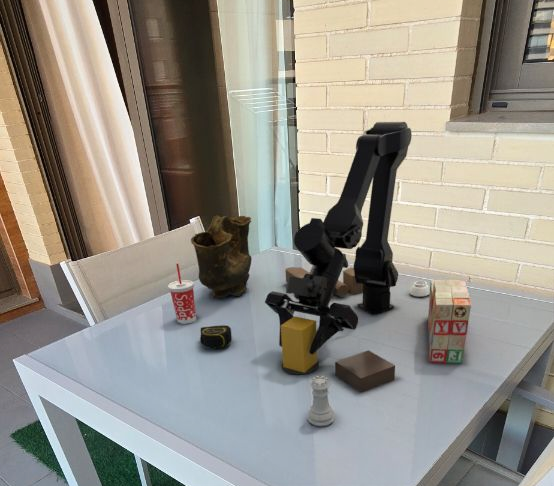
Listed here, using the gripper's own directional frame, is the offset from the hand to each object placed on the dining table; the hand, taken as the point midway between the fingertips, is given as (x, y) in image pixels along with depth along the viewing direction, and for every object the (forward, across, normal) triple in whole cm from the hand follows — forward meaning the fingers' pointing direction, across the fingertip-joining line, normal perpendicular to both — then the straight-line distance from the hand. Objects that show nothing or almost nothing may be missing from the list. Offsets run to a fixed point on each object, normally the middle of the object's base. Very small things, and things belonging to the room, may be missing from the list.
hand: (295, 350), depth 105 cm
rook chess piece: (+13, +14, -6) cm, 20 cm away
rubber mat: (+2, 0, +4) cm, 4 cm away
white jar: (-31, +6, +37) cm, 48 cm away
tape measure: (+2, -22, +4) cm, 23 cm away
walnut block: (+1, +13, +5) cm, 14 cm away
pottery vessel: (-17, -40, +23) cm, 50 cm away
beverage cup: (-3, -38, +9) cm, 39 cm away
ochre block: (+2, 0, +4) cm, 4 cm away
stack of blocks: (-15, +21, +21) cm, 33 cm away
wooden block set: (-27, -18, +33) cm, 46 cm away
